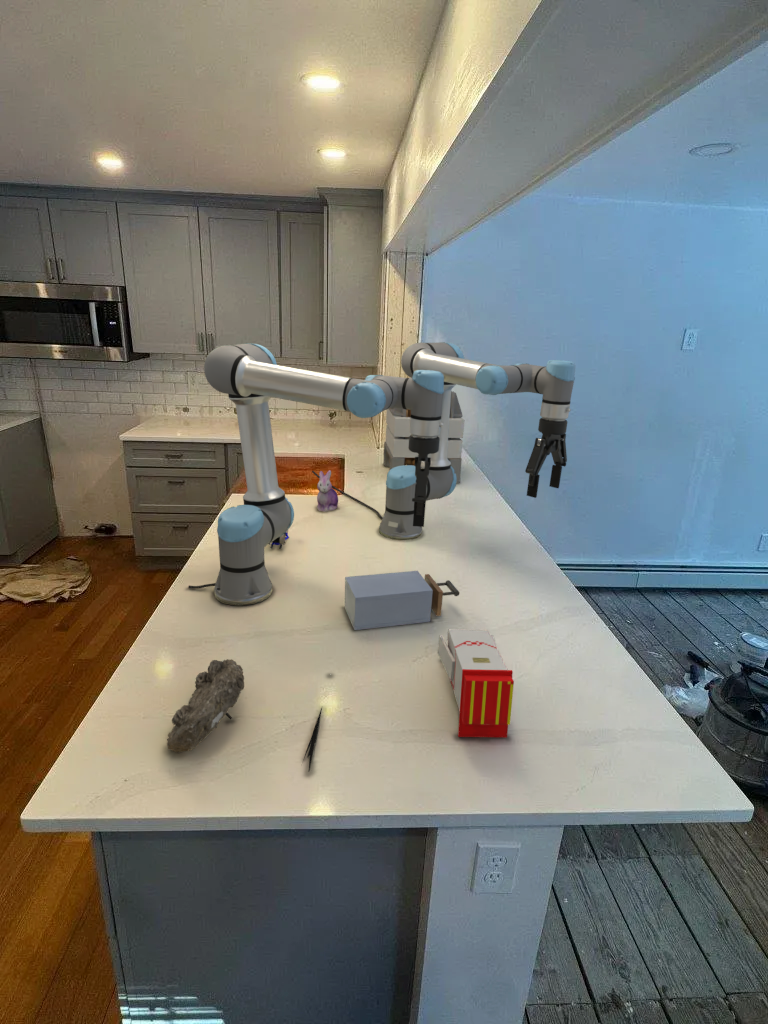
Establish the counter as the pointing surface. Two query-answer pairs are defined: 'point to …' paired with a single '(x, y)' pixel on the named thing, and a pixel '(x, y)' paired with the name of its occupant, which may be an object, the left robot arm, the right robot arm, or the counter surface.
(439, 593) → the drawer
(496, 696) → the toy
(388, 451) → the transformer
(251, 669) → the counter surface
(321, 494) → the figurine
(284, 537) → the figurine character
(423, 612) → the cabinet
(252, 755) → the counter surface
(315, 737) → the feather
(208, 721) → the fossil
